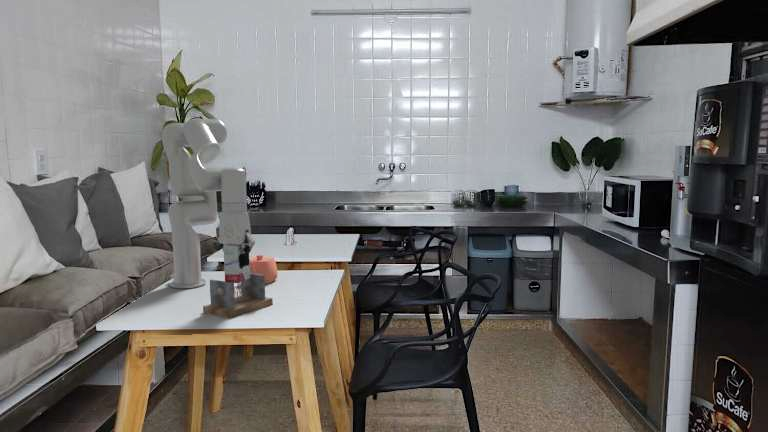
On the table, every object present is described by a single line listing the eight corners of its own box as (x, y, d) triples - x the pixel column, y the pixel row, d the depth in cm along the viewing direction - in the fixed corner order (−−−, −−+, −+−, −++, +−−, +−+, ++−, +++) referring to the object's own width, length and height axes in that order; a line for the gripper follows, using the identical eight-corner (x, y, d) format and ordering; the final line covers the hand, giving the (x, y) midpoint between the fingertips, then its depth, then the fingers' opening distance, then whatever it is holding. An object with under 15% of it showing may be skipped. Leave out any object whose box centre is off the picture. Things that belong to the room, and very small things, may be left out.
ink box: (238, 283, 176) (237, 245, 175) (224, 283, 177) (222, 245, 176) (250, 277, 185) (249, 241, 183) (236, 277, 186) (235, 241, 184)
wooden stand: (203, 312, 178) (201, 280, 177) (246, 299, 193) (245, 270, 192) (230, 318, 171) (228, 285, 170) (272, 304, 186) (271, 274, 185)
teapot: (282, 277, 226) (281, 251, 225) (264, 288, 209) (263, 260, 207) (255, 276, 228) (254, 251, 227) (235, 287, 211) (234, 259, 210)
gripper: (206, 208, 180) (209, 264, 182) (245, 210, 171) (247, 269, 173) (224, 206, 186) (227, 260, 188) (263, 208, 177) (265, 265, 179)
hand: (237, 264), depth 180 cm, fingers closed on ink box, 6 cm apart
